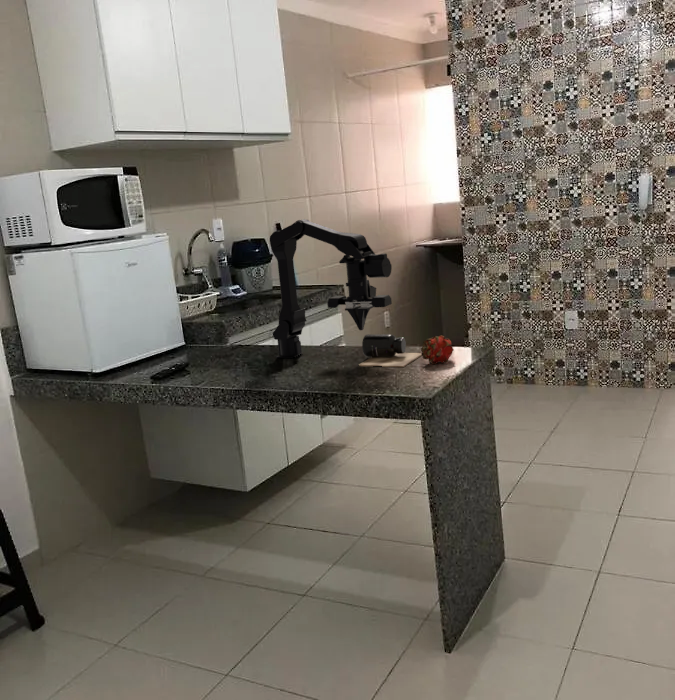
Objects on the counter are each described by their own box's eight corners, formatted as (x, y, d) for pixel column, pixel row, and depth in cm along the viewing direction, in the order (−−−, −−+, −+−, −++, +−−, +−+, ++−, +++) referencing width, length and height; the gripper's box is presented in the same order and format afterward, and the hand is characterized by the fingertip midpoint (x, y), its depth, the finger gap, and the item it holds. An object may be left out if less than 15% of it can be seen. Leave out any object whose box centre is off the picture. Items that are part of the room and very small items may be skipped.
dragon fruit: (423, 373, 208) (446, 369, 217) (445, 357, 203) (467, 353, 212) (409, 347, 211) (432, 344, 220) (430, 330, 206) (453, 328, 215)
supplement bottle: (360, 352, 221) (399, 352, 217) (362, 331, 223) (401, 330, 219) (368, 360, 227) (405, 359, 223) (370, 339, 229) (407, 338, 225)
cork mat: (358, 366, 216) (358, 364, 216) (380, 353, 230) (380, 352, 230) (403, 367, 210) (403, 365, 210) (423, 354, 224) (423, 353, 224)
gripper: (396, 273, 222) (400, 324, 225) (341, 275, 230) (345, 324, 234) (382, 278, 212) (386, 332, 216) (324, 280, 221) (328, 332, 224)
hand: (361, 330), depth 222 cm, fingers closed
